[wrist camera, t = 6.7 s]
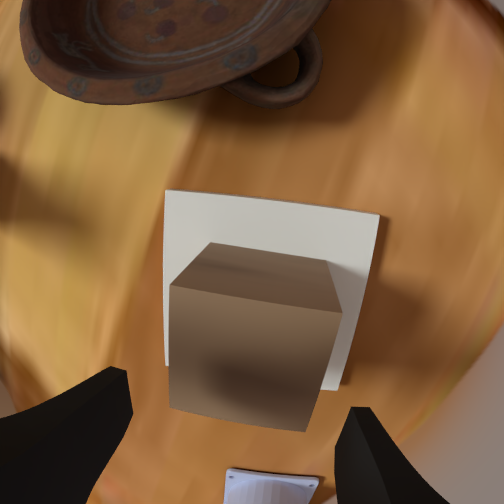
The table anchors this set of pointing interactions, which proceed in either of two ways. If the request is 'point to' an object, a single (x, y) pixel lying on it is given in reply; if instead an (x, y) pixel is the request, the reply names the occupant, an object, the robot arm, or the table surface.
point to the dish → (169, 48)
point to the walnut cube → (251, 336)
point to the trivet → (275, 246)
